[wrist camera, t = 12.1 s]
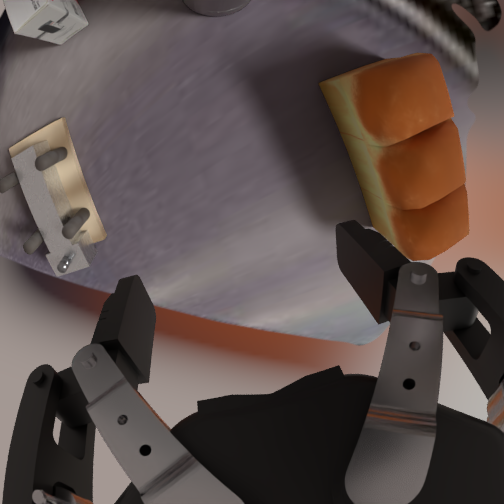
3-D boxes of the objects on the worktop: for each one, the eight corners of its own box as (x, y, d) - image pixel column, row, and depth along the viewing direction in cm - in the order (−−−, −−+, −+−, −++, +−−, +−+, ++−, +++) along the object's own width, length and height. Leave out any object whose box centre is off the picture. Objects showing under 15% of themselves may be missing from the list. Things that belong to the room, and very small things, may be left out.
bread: (426, 197, 44) (485, 234, 31) (371, 229, 45) (424, 279, 33) (384, 55, 32) (457, 51, 19) (314, 81, 33) (374, 76, 20)
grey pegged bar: (21, 154, 29) (-2, 165, 24) (52, 137, 29) (30, 145, 24) (66, 262, 38) (52, 284, 33) (97, 251, 38) (85, 274, 33)
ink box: (42, 8, 20) (-3, -10, 10) (71, -14, 20) (32, -41, 9) (59, 47, 24) (12, 35, 14) (90, 24, 24) (50, 2, 14)
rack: (12, 147, 29) (-16, 158, 23) (64, 117, 29) (38, 123, 23) (55, 253, 38) (36, 279, 32) (106, 235, 38) (92, 261, 32)
